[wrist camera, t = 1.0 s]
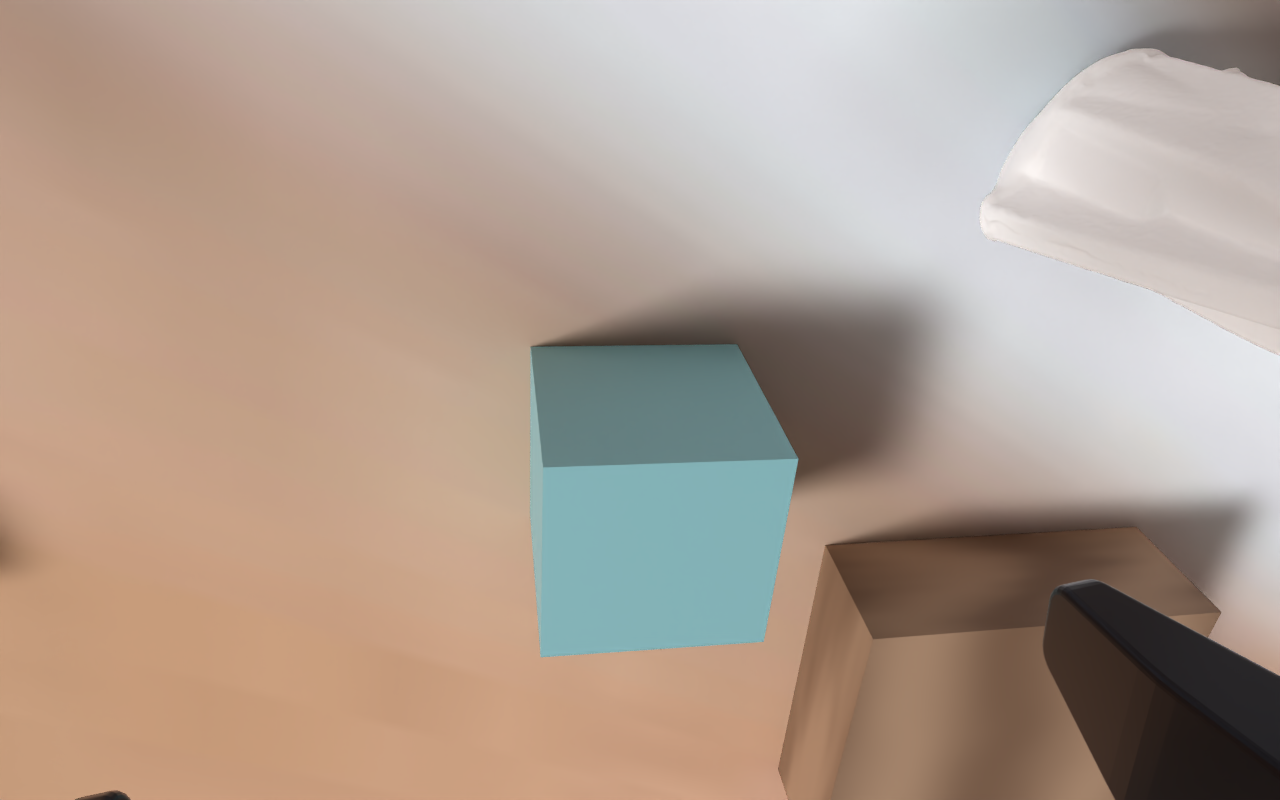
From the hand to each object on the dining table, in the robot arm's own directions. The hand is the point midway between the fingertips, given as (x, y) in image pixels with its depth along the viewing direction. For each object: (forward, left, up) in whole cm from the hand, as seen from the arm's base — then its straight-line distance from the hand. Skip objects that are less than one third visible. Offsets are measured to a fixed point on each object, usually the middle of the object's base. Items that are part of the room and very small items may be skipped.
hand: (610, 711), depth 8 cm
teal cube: (-2, +5, -13) cm, 14 cm away
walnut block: (-13, +14, -13) cm, 23 cm away
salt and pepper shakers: (-15, -2, -13) cm, 20 cm away
